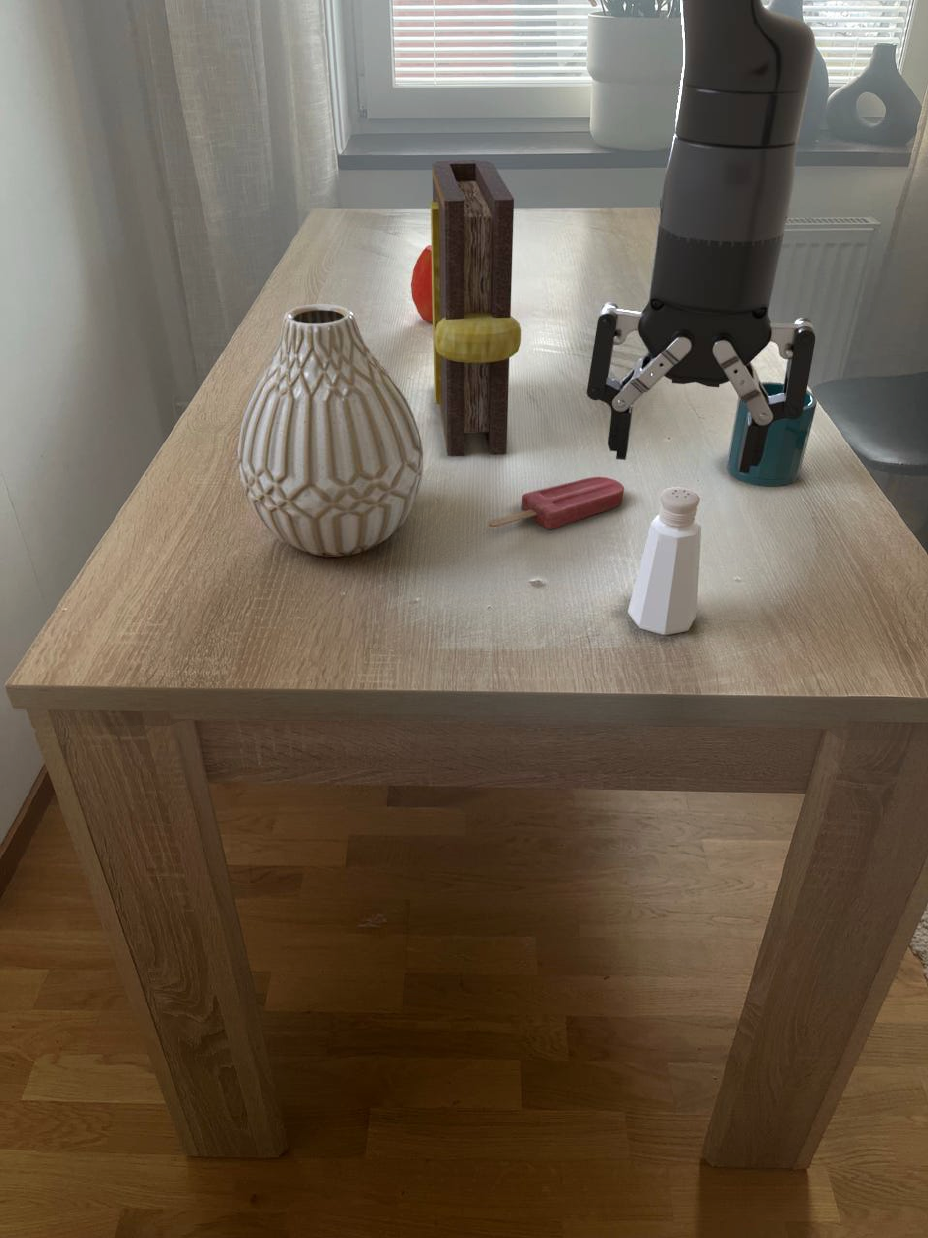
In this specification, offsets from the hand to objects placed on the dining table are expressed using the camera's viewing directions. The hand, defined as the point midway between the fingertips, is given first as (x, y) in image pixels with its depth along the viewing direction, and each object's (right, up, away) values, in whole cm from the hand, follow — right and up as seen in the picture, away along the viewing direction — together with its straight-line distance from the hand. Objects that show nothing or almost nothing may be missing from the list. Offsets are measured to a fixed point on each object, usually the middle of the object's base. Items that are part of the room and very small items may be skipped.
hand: (681, 461), depth 66 cm
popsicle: (-7, -1, +22) cm, 23 cm away
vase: (-27, -3, +19) cm, 33 cm away
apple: (-19, +32, +67) cm, 77 cm away
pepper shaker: (0, -11, +8) cm, 14 cm away
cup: (+15, +4, +29) cm, 33 cm away
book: (-15, +11, +38) cm, 43 cm away
